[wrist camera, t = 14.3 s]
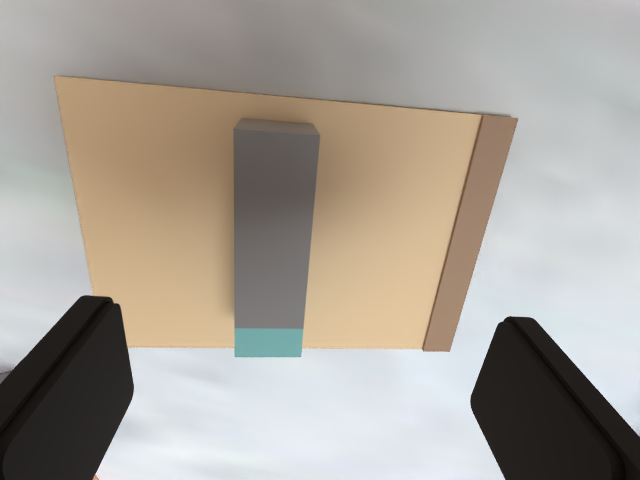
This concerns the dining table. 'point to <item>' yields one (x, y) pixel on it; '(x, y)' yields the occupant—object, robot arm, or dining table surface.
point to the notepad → (328, 218)
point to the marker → (272, 233)
